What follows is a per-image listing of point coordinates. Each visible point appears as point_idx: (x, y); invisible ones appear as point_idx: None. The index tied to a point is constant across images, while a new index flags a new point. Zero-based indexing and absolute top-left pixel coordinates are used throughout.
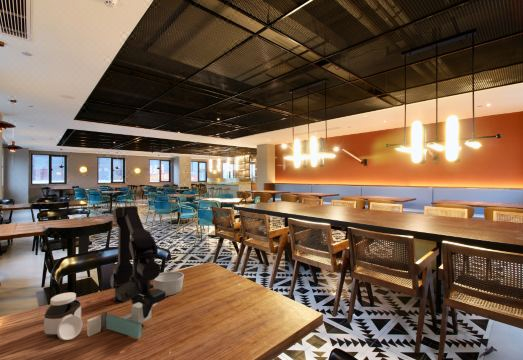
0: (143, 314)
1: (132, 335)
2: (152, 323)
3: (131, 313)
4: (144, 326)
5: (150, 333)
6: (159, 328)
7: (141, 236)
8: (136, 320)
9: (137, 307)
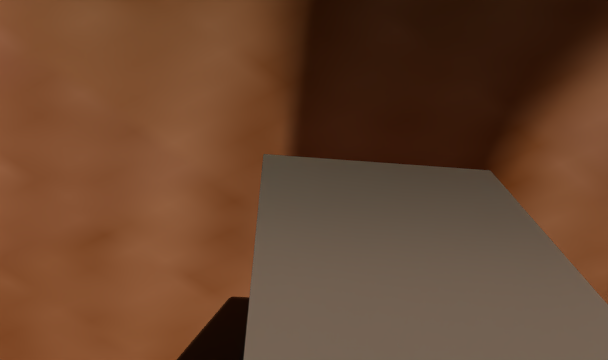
0: (233, 342)
1: None
2: None
3: (561, 253)
4: None
5: (19, 146)
6: (35, 284)
7: None
8: (332, 185)
9: None
